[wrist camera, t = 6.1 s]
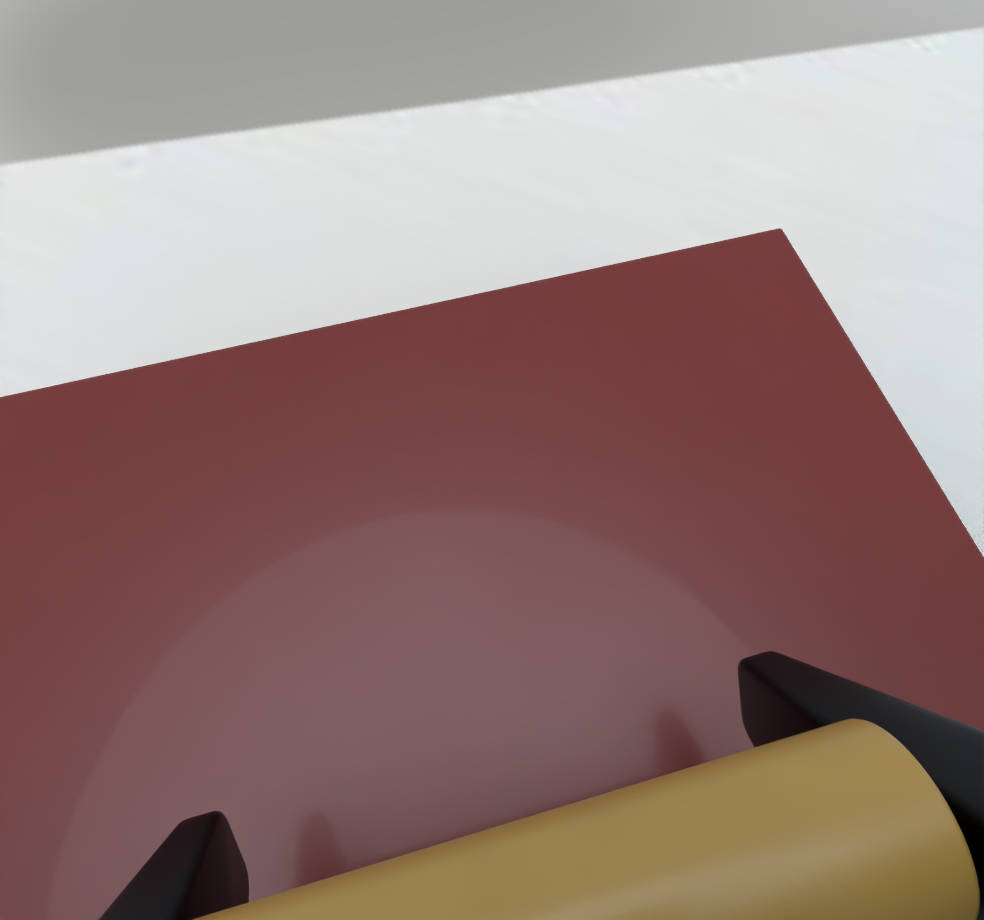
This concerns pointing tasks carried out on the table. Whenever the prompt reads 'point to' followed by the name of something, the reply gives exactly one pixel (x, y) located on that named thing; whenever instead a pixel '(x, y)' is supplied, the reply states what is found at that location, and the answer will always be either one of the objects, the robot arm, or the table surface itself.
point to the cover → (487, 612)
